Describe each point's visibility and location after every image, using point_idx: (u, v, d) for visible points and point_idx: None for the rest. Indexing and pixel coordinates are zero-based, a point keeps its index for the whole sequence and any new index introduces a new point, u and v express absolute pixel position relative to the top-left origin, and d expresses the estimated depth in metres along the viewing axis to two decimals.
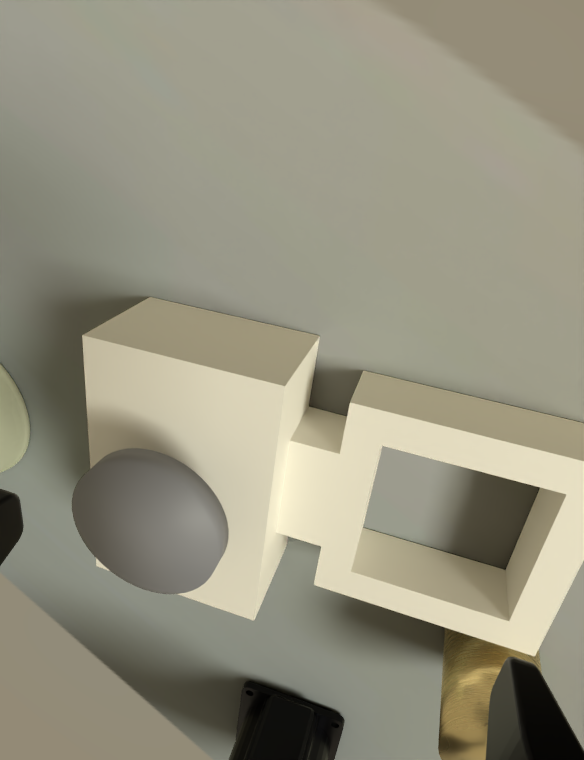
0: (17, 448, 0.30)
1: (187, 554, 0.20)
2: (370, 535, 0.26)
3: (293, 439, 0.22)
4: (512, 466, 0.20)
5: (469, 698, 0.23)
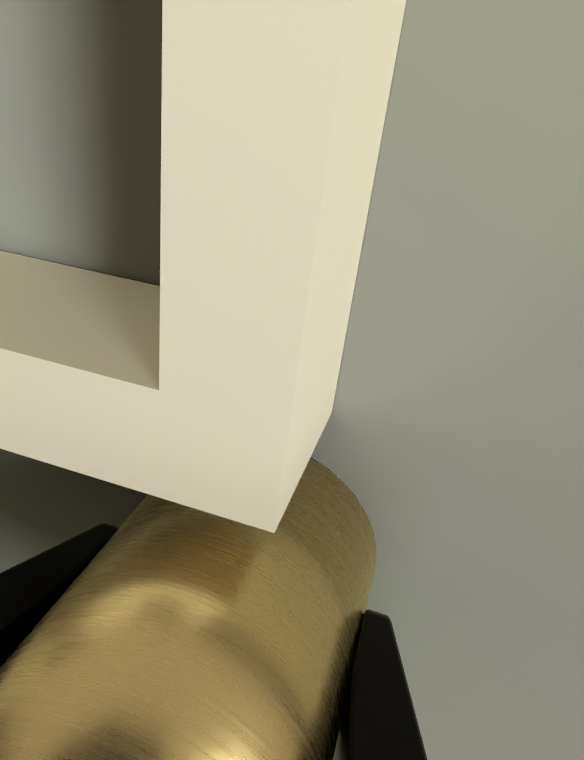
0: None
1: None
2: None
3: None
4: None
5: None
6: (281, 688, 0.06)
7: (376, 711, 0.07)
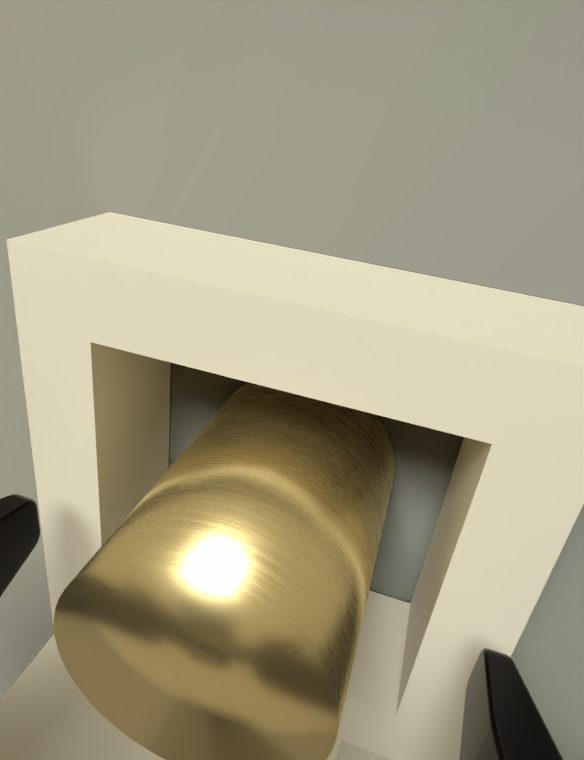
0: None
1: None
2: (412, 602, 0.13)
3: None
4: (69, 432, 0.11)
5: (136, 517, 0.08)
6: (334, 526, 0.09)
7: None
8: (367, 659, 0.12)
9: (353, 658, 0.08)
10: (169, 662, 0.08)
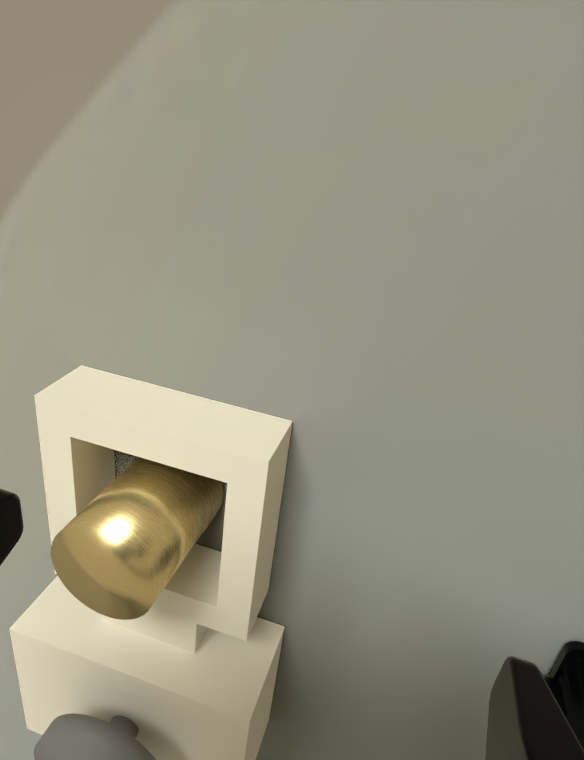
0: None
1: None
2: None
3: (102, 615, 0.27)
4: (61, 473, 0.23)
5: (83, 510, 0.21)
6: (164, 513, 0.21)
7: None
8: (210, 583, 0.25)
9: (168, 566, 0.21)
10: (93, 565, 0.20)
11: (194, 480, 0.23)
